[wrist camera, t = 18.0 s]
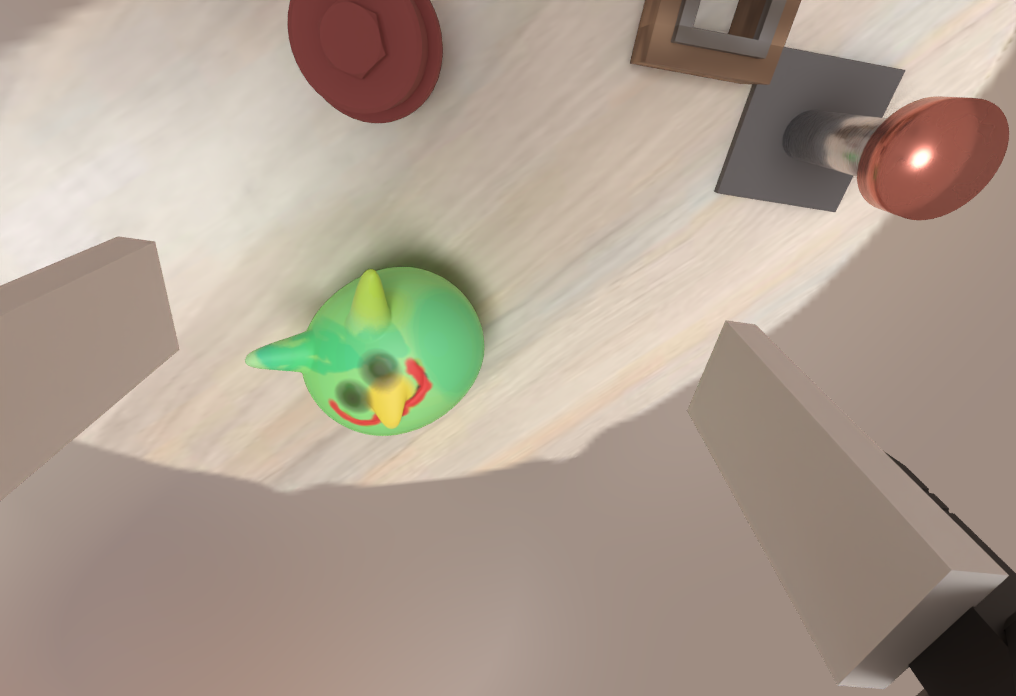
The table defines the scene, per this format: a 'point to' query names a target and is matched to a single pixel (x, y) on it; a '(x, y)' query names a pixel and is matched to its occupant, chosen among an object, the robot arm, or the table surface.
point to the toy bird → (385, 351)
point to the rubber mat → (770, 108)
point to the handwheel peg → (908, 152)
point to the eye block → (715, 40)
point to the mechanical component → (368, 54)
